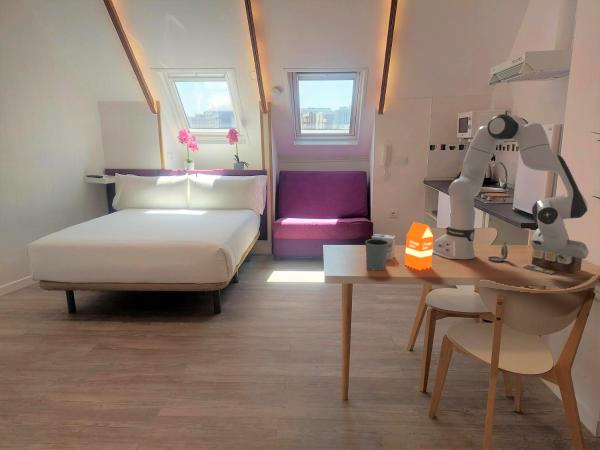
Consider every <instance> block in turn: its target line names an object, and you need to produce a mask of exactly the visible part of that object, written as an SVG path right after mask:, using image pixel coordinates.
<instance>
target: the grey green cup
mask: <svg viewBox="0 0 600 450" xmlns="http://www.w3.org/2000/svg"><path fill="white" fill-rule="evenodd" d="M387 250H388V241H386V240H381V239H372V238H371V239H370V238H369V239H367V240H365V253H366V255H365V257H366V258H365V260H366V261H365V263H366V264H365V266H366V268H367V269H368V268H369V270H371V269H374V270H373V271H380V270H379V269H383V270H385V269H386V265H387V259H386V258H387ZM384 268H385V269H384Z"/></svg>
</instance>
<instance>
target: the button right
mask: <svg viewBox="0 0 600 450" xmlns="http://www.w3.org/2000/svg"><path fill="white" fill-rule="evenodd" d="M557 262H559V263H564V264H569V263H571V262H573V257H571V256H567V257H566V259H562V258H558V261H557Z"/></svg>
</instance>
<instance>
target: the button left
mask: <svg viewBox="0 0 600 450" xmlns="http://www.w3.org/2000/svg"><path fill="white" fill-rule="evenodd" d="M532 257H536V258H540V259H542V258H545V251H540V250H535V249H534V248H533V247H532ZM532 257H531V258H532Z"/></svg>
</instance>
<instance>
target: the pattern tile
mask: <svg viewBox="0 0 600 450" xmlns="http://www.w3.org/2000/svg"><path fill="white" fill-rule="evenodd" d="M522 268H523V269H526V270H530V271H535V272H540V273H543V274H547V275H550V276H551V275H554V274H556V273H557V272H558V271H556V270H554V269H550V268H549V269H548V268H545V267H541V266H540V267H539V266H537V265H536V266H535V265H532V264H527V265H524V266H523V267H522Z"/></svg>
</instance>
